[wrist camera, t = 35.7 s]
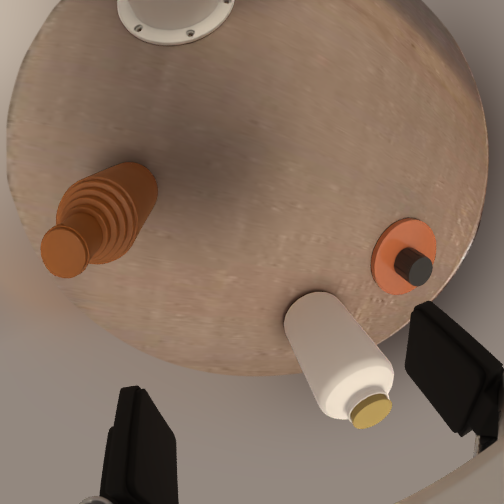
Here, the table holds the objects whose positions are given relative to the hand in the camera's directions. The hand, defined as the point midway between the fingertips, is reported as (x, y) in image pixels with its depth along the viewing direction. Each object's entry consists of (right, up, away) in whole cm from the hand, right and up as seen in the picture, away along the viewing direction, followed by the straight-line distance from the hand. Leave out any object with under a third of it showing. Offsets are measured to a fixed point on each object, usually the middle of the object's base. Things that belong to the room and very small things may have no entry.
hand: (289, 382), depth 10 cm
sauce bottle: (-14, +11, +22) cm, 28 cm away
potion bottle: (+7, -4, +31) cm, 32 cm away
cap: (+20, +3, +30) cm, 36 cm away
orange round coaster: (+20, +4, +31) cm, 37 cm away
